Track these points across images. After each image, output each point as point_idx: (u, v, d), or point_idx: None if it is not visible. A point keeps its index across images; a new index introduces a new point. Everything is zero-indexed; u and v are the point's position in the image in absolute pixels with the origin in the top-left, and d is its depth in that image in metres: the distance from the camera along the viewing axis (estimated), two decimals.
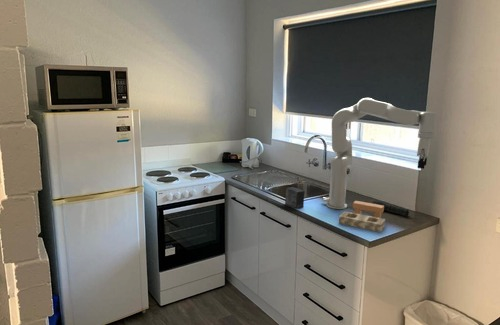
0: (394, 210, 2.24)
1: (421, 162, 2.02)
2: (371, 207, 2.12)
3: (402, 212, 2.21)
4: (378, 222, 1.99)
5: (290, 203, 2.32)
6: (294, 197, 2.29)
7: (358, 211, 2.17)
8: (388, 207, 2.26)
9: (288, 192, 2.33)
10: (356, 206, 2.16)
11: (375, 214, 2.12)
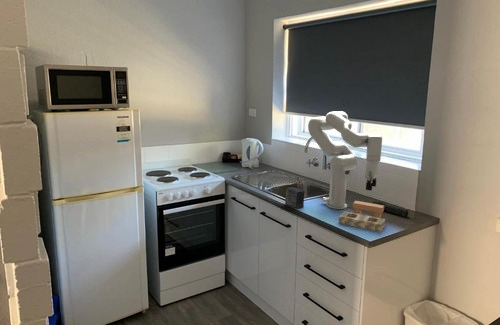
0: (394, 210, 2.23)
1: (368, 184, 2.07)
2: (371, 207, 2.12)
3: (401, 212, 2.20)
4: (378, 222, 1.99)
5: (290, 203, 2.32)
6: (294, 197, 2.29)
7: (358, 211, 2.17)
8: (388, 207, 2.26)
9: (288, 192, 2.33)
10: (356, 206, 2.16)
11: (375, 214, 2.12)
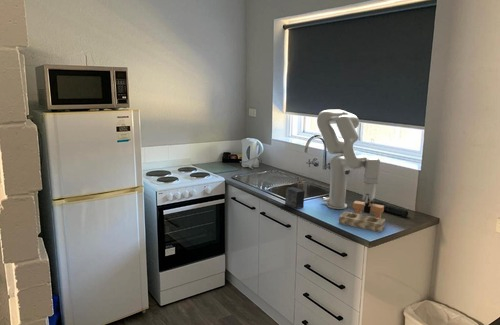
0: (393, 210, 2.23)
1: (367, 207, 2.12)
2: (371, 207, 2.12)
3: (401, 212, 2.20)
4: (378, 222, 1.99)
5: (290, 203, 2.32)
6: (294, 197, 2.29)
7: (358, 211, 2.17)
8: (388, 207, 2.26)
9: (288, 192, 2.33)
10: (357, 206, 2.16)
11: (375, 214, 2.12)
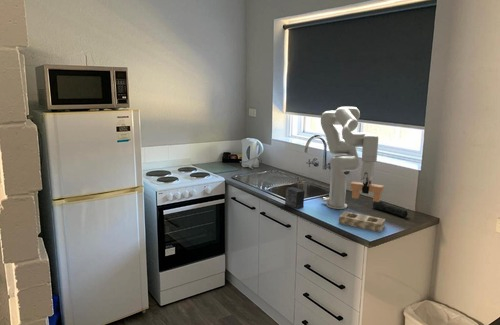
0: (393, 211, 2.23)
1: (365, 187, 2.00)
2: (370, 187, 2.00)
3: (400, 213, 2.19)
4: (378, 222, 1.99)
5: (290, 203, 2.32)
6: (294, 197, 2.29)
7: (356, 192, 2.04)
8: (387, 207, 2.26)
9: (288, 192, 2.33)
10: (354, 186, 2.04)
11: (374, 194, 2.00)
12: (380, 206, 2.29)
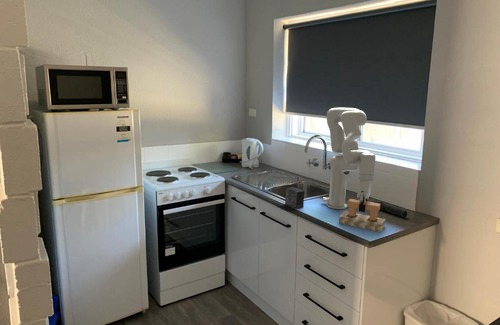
0: (392, 211, 2.23)
1: (361, 205, 2.00)
2: (366, 205, 2.00)
3: (400, 213, 2.19)
4: (378, 222, 1.99)
5: (290, 203, 2.32)
6: (294, 197, 2.29)
7: (353, 209, 2.04)
8: (387, 207, 2.26)
9: (288, 192, 2.33)
10: (351, 204, 2.04)
11: (371, 213, 2.00)
12: (380, 206, 2.29)
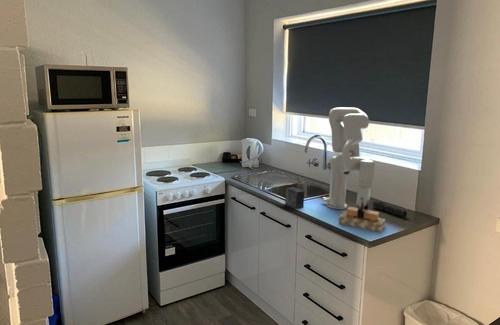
0: (392, 211, 2.22)
1: (360, 212, 1.99)
2: (365, 214, 2.01)
3: (399, 213, 2.19)
4: (378, 222, 1.99)
5: (290, 203, 2.32)
6: (294, 197, 2.29)
7: None
8: (387, 207, 2.25)
9: (288, 192, 2.33)
10: (350, 212, 2.05)
11: None
12: (380, 206, 2.29)
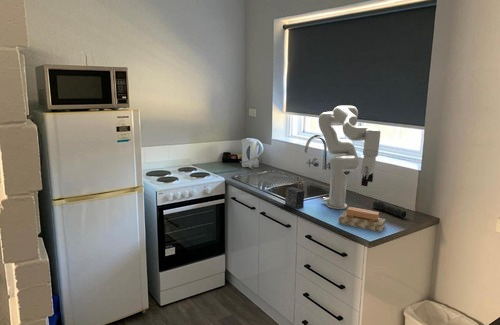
0: (391, 211, 2.22)
1: (364, 180, 2.00)
2: (365, 214, 2.01)
3: (398, 213, 2.18)
4: (378, 222, 1.99)
5: (290, 203, 2.32)
6: (294, 197, 2.29)
7: None
8: (386, 208, 2.25)
9: (288, 192, 2.33)
10: (350, 212, 2.05)
11: None
12: (380, 206, 2.29)
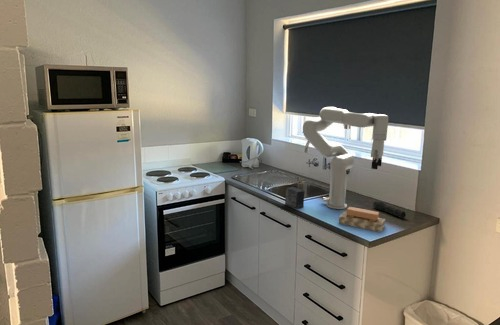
0: (391, 211, 2.22)
1: (374, 163, 2.10)
2: (365, 214, 2.01)
3: (398, 213, 2.18)
4: (378, 222, 1.99)
5: (290, 203, 2.32)
6: (294, 197, 2.29)
7: None
8: (386, 208, 2.25)
9: (288, 192, 2.33)
10: (350, 212, 2.05)
11: None
12: (380, 206, 2.29)
